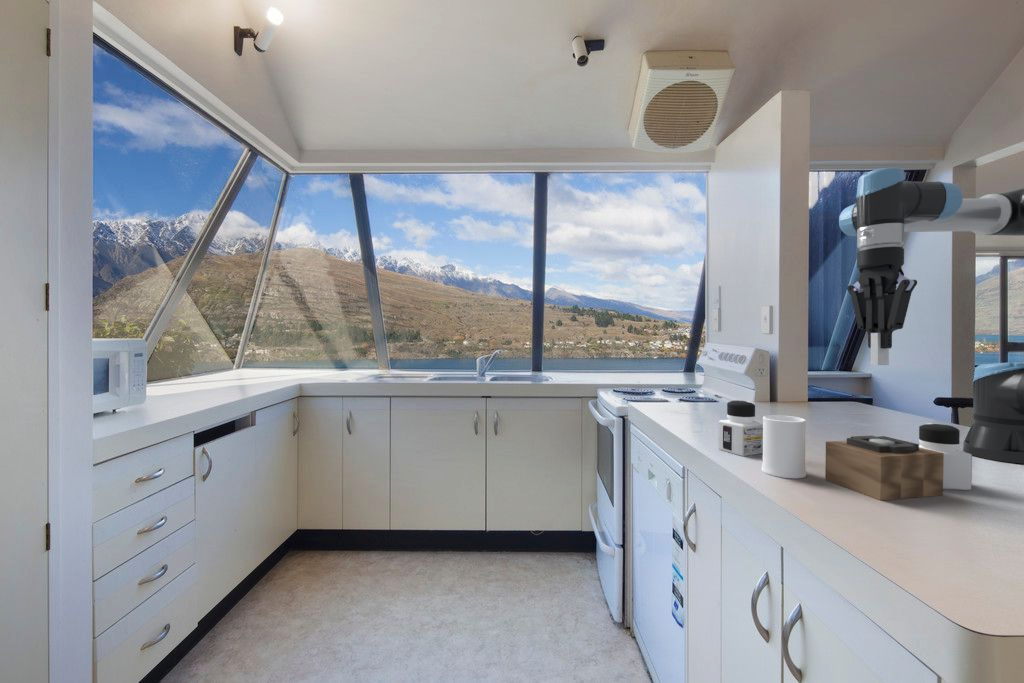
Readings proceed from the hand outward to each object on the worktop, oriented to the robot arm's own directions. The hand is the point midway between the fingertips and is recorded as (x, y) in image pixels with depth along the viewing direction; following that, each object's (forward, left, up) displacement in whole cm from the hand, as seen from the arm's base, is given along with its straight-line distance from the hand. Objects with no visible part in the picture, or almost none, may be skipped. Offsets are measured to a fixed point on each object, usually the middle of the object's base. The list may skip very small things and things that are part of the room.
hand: (879, 364), depth 95 cm
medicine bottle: (-11, +3, -24) cm, 27 cm away
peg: (+2, +3, -24) cm, 24 cm away
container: (+11, -27, -24) cm, 38 cm away
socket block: (+2, +3, -24) cm, 24 cm away
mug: (+13, -11, -24) cm, 30 cm away
